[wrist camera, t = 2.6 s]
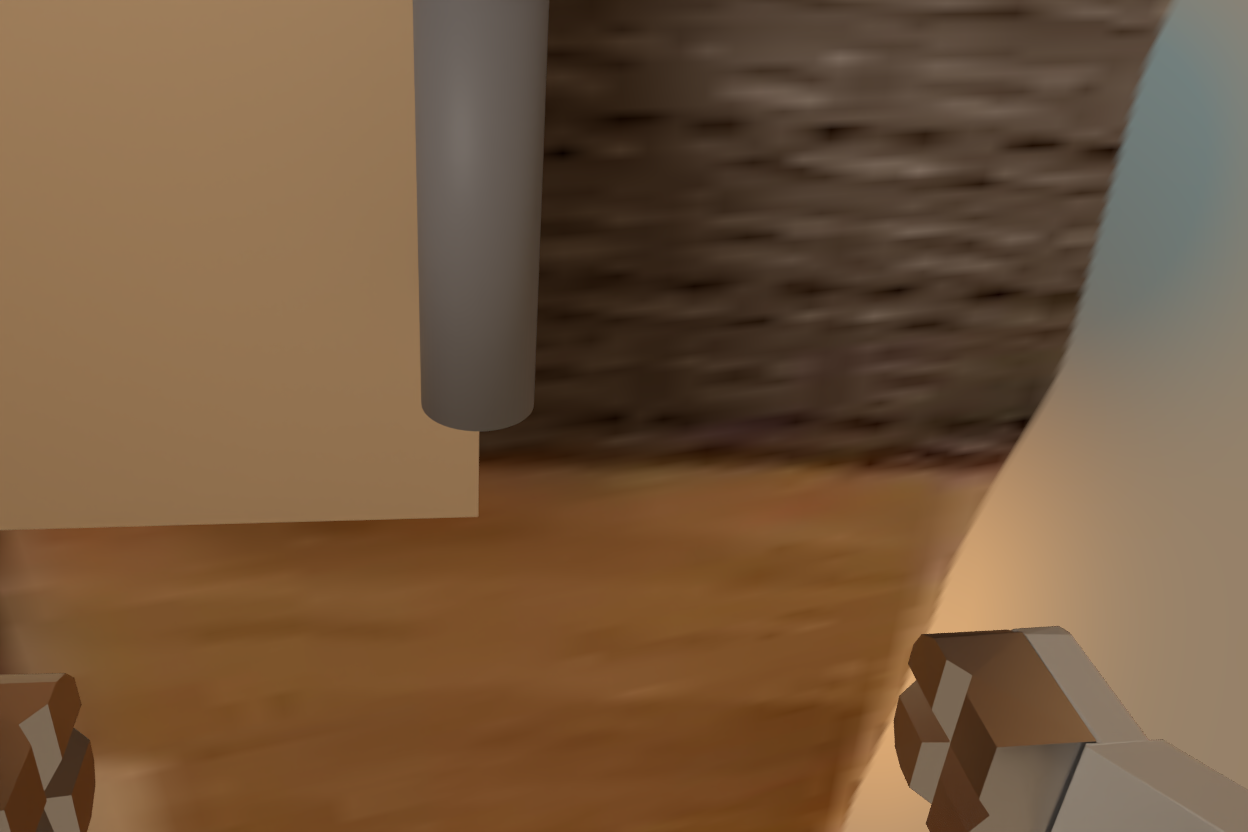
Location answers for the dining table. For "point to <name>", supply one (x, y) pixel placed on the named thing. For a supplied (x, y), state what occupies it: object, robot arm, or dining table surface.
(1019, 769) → the robot arm
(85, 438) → the cardboard box lid
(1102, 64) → the dining table surface
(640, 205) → the dining table surface
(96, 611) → the dining table surface
